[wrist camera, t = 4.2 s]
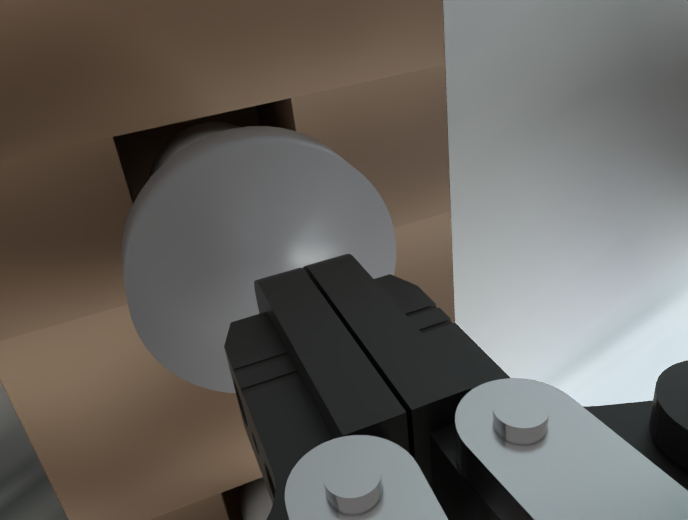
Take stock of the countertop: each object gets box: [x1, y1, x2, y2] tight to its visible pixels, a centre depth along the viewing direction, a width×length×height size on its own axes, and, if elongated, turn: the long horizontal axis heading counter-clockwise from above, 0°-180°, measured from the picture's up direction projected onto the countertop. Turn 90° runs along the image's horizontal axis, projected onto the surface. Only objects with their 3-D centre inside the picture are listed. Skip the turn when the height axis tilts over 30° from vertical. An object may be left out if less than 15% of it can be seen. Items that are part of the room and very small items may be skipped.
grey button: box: [121, 122, 396, 393], centre depth 14 cm, size 5×5×5 cm
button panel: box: [0, 0, 455, 520], centre depth 20 cm, size 24×12×5 cm, turn 8°
